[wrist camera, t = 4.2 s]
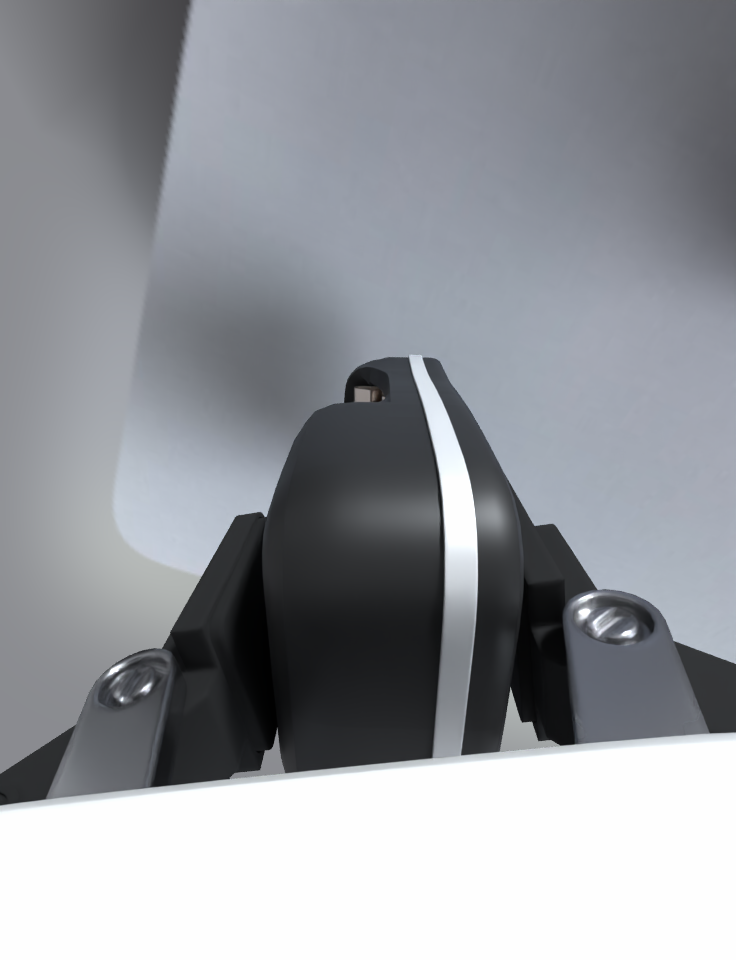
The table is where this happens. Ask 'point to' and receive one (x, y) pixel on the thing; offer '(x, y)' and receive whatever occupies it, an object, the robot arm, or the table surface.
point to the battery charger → (391, 577)
